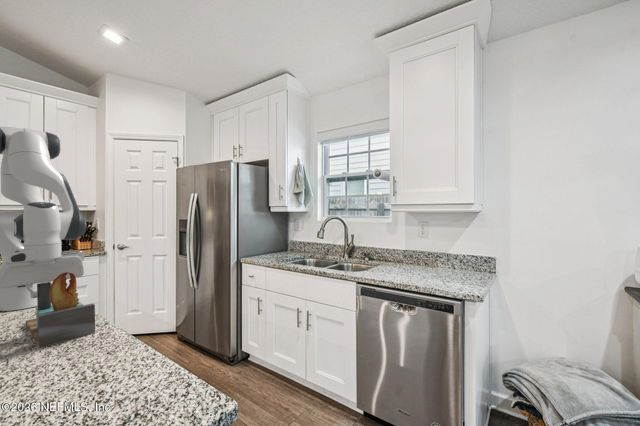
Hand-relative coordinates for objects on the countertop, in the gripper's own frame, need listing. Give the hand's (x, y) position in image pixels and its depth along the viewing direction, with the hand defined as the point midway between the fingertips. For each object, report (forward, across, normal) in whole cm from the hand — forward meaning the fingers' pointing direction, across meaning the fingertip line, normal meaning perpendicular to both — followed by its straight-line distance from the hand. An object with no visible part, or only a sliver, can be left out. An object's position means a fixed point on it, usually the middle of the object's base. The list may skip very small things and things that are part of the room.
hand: (44, 296), depth 94 cm
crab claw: (+12, -4, +8) cm, 15 cm away
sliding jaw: (+10, -4, +2) cm, 11 cm away
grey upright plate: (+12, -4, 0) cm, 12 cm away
